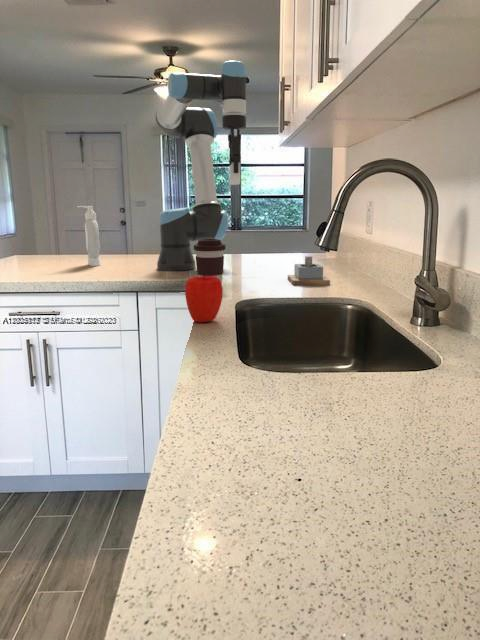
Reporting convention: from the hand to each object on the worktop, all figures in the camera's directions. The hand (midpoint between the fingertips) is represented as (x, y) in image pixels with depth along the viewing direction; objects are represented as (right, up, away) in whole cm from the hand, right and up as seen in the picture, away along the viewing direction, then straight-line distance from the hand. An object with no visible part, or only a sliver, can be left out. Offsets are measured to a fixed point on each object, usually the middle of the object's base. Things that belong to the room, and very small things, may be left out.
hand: (234, 184), depth 165 cm
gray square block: (+25, -30, +3) cm, 39 cm away
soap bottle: (-61, -21, +47) cm, 80 cm away
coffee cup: (-8, -34, -4) cm, 35 cm away
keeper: (+25, -32, +3) cm, 40 cm away
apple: (-7, -45, -47) cm, 66 cm away
